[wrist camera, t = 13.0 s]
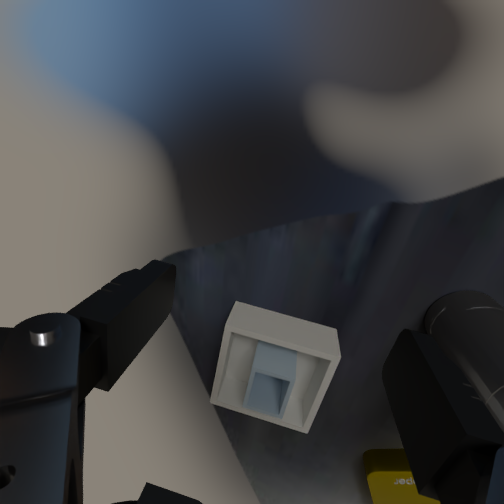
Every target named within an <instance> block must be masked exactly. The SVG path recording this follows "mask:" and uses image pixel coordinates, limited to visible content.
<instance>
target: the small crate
mask: <svg viewBox="0 0 504 504" xmlns="http://www.w3.org/2000/svg"><path fill="white" fill-rule="evenodd" d="M296 362H297V351H296V350H292V349H289V348H285V347H282V346H279V345H275V344H272V343H268V342H265V341H261V340H259V341H258V345H257V349H256V352H255V356H254V360H253V364H252V368H251V372H250V377H249V381H248V385H247V389H246V393H245V397H244V401H243V405H242V407H244V408H247V409H250V410H254V411H257V412H260V413H263V414H267V415H270V416H273V417H277V418H280V419H282V418H283V415H284V412H285V409H286V406H287V403H288V401H289V398H290V395H291V392H292V389H293V386H294V383H295V380H296Z"/></svg>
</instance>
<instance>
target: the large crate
mask: <svg viewBox="0 0 504 504" xmlns="http://www.w3.org/2000/svg"><path fill="white" fill-rule="evenodd" d="M259 340H261V341H265V342H268V343H272V344H275V345H279V346H282V347H285V348H289V349H292V350H296V351H297V362H296V380H295V383H294V386H293V389H292V392H291V395H290V398H289V401H288V403H287V406H286V409H285V412H284V415H283V418H282V419H280V418H277V417H273V416H270V415H267V414H263V413H260V412H257V411H254V410H250V409H247V408H244V407H242V405H243V401H244V397H245V393H246V389H247V385H248V381H249V377H250V372H251V368H252V364H253V360H254V356H255V352H256V349H257V345H258V341H259ZM340 358H341V354H340V348H339V342H338V336H337V329H334V328H331V327H327V326H323V325H320V324H316V323H313V322H309V321H306V320H302V319H298V318H295V317H291V316H288V315H284V314H280V313H277V312H273V311H270V310H266V309H263V308H259V307H255V306H252V305H248V304H245V303H241V302H238V301H236V302H235V304H234V306H233V308H232V311H231V313H230V315H229V317H228V320H227V322H226V324H225V329H224V334H223V339H222V344H221V349H220V354H219V359H218V364H217V369H216V374H215V379H214V384H213V389H212V394H211V399H210V403H212V404H215V405H218V406H221V407H225V408H228V409H231V410H234V411H237V412H240V413H243V414H247V415H250V416H253V417H256V418H259V419H262V420H265V421H269V422H272V423H275V424H278V425H281V426H284V427H288V428H291V429H294V430H297V431H300V432H303V433H306V434H308V431H309V429H310V427H311V425H312V422H313V420H314V418H315V415H316V413H317V411H318V409H319V406H320V404H321V402H322V399H323V397H324V395H325V393H326V390H327V388H328V386H329V384H330V381H331V379H332V377H333V374H334V372H335V370H336V368H337V365H338V363H339V361H340Z"/></svg>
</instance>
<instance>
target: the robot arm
mask: <svg viewBox="0 0 504 504" xmlns="http://www.w3.org/2000/svg"><path fill="white" fill-rule="evenodd" d="M175 278H176V266H175V265H173V264H170V263H166V262H162V261H159V260H152V261H151V262H150V263H148V264H147V265H146V266H144V267H143V268H142V269H141V270H139V269H133V270H131V271H127V272H124V273H121V274H120V275H119V276H117V277H116V278H114V279H113V280H112V281H111V282H110V283H108V284H106V285H105V286H103V287H102V288H101V290H98V291H96V292H95V293H93V294H92V295H91V296H89V297H88V298H86V299H85V300H83V301H82V302H81V303H79V304H78V305H77V306H75V307H74V308H72V309H71V310H70V311H68V312H67V313H46V314H41V315H37V316H34V317H31V318H28V319H26V320H24V321H22V322H21V323H19V324H17V325H16V326H15V327H14V328H8V327H7V328H6V327H0V504H83V453H84V426H85V397H86V396H87V395H88V394H89V393H90V391H91V390H92V389H93V388H94V387H95V388H98V389H101V390H104V391H109V390H110V389H111V388H112V386H113V385H114V384H115V383H116V381H117V380H118V379H119V378H120V376H121V375H122V374H123V373H124V371H125V370H126V369H127V367H128V366H129V365H130V364H131V362H132V361H133V360H134V359H135V357H136V356H137V355H138V353H139V352H140V351H141V349H142V348H143V347H144V346H145V345H146V343H147V342H148V341H149V340H150V338H151V337H152V336H153V334H154V333H155V332H156V331H157V330H158V328H159V327H160V326H161V325H162V323H163V322H164V320H166V318H167V317H168V315H169V313H170V311H171V308H172V304H173V298H174V288H175ZM424 324H425V329H426V331H427V333H428V334H424V333H420V332H417V331H413V330H409V329H404V330H403V331H402V332H401V333H400V334H399V336H398V338H397V340H396V342H395V344H394V346H393V348H392V349H391V351H390V353H389V355H388V357H387V359H386V361H385V363H384V366H383V370H382V380H383V384H384V387H385V390H386V393H387V397H388V400H389V403H390V406H391V409H392V412H393V416H394V419H395V422H396V425H397V428H398V431H399V434H400V438H401V441H402V444H403V447H404V450H405V453H406V456H407V460H408V463H409V466H410V469H411V472H412V475H413V479H414V482H415V485H416V488H417V491H418V494H419V495H422V496H426V497H429V498H432V499H435V500H438V501H440V504H504V308H503V307H502V306H501V305H500V304H499V303H497V302H496V301H495V300H494V299H493V298H491V297H490V296H488V295H486V294H484V293H480V292H476V291H459V292H455V293H451V294H448V295H446V296H444V297H442V298H440V299H439V300H437V301H436V302H435V303H434V304H433V305H432V306H431V307H430V308H429V310H428V311H427V314H426V316H425V322H424ZM112 504H202V503H201V502H200V501H198V500H196V499H193V498H190V497H187V496H184V495H181V494H178V493H176V492H173V491H170V490H167V489H164V488H162V487H158V486H156V485H153V484H150V483H147V482H146V485H145V487H144V489H143V491H142V493H141V496H140V498H139V499H138V501H124V502H117V503H112Z"/></svg>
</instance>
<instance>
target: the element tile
mask: <svg viewBox="0 0 504 504" xmlns="http://www.w3.org/2000/svg"><path fill="white" fill-rule="evenodd" d="M363 460H364V466H365V471H366V477H367V481H368V485H369V489H370V493H371V497H372V501H373V504H440V501H438V500H435V499H432V498H429V497H426V496H422V495H419V494H418V491H417V488H416V485H415V482H414V479H413V475H412V472H411V469H410V466H409V463H408V460H407V456H406V453H405V450H404V449H371V450H368V451H366V452H364V454H363Z"/></svg>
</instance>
